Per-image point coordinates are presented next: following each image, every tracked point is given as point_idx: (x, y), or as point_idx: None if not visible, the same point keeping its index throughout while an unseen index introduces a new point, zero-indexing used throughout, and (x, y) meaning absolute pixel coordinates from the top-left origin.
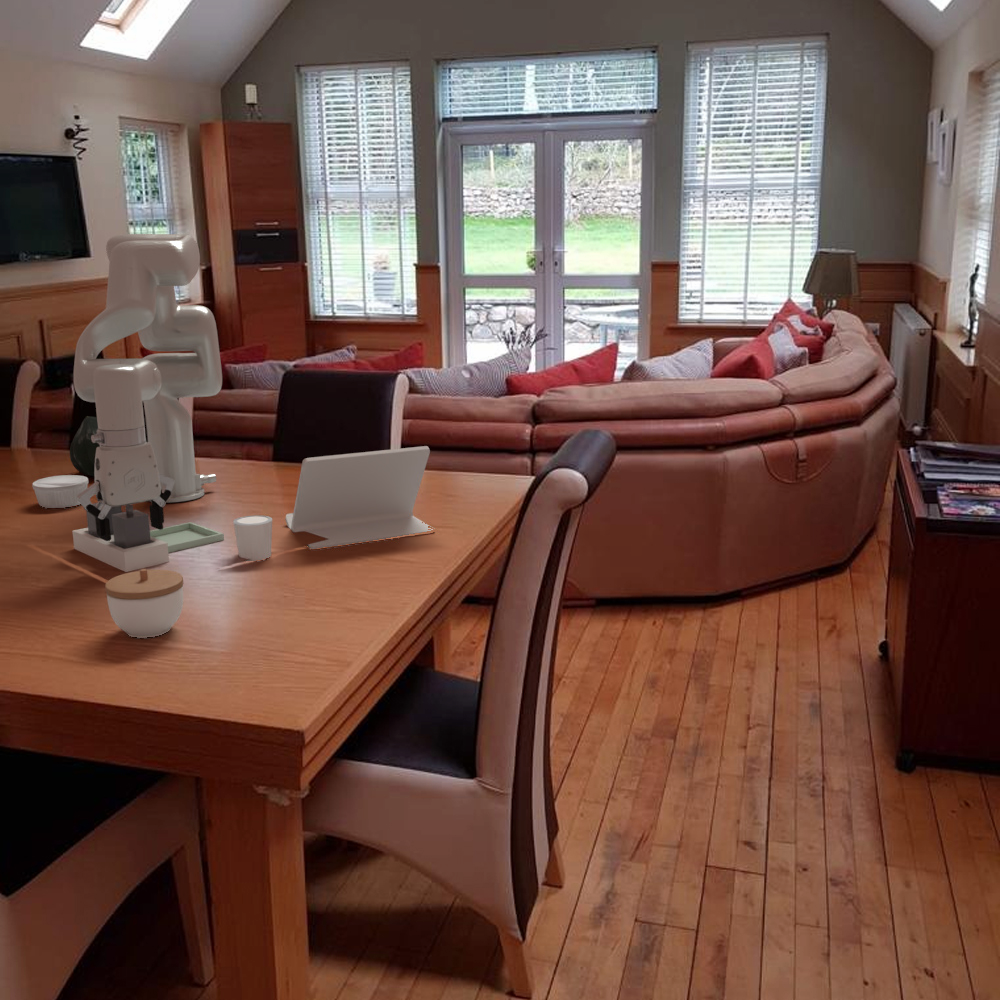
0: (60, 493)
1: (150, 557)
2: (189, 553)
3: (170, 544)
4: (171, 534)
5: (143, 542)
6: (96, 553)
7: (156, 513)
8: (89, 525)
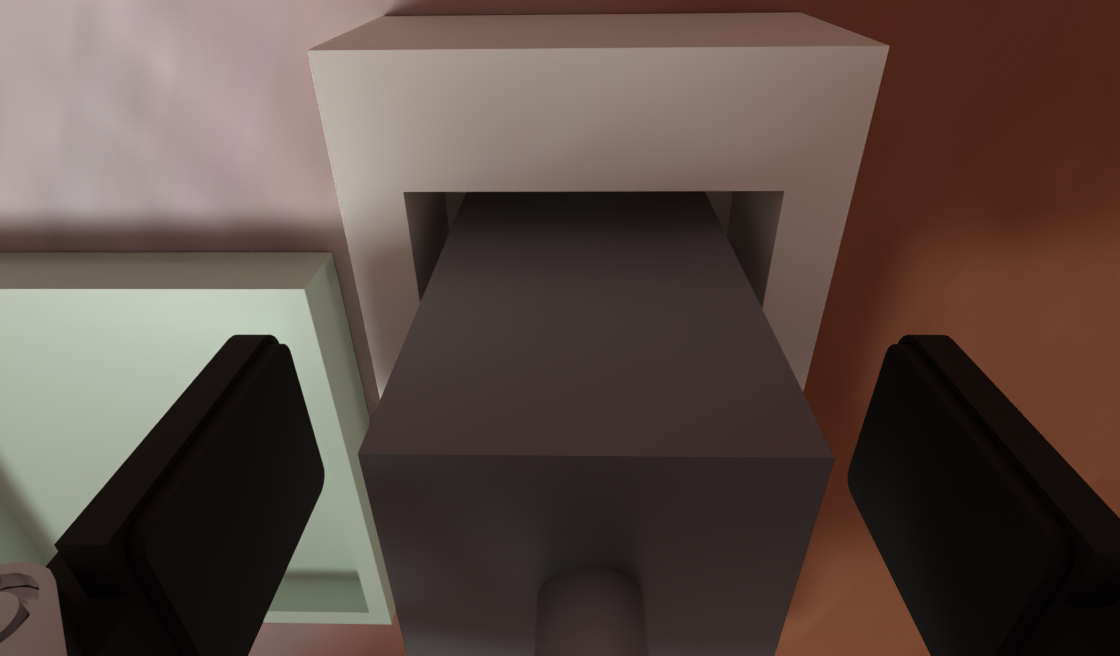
0: None
1: (553, 28)
2: (145, 200)
3: None
4: None
5: (529, 242)
6: None
7: (200, 506)
8: None
